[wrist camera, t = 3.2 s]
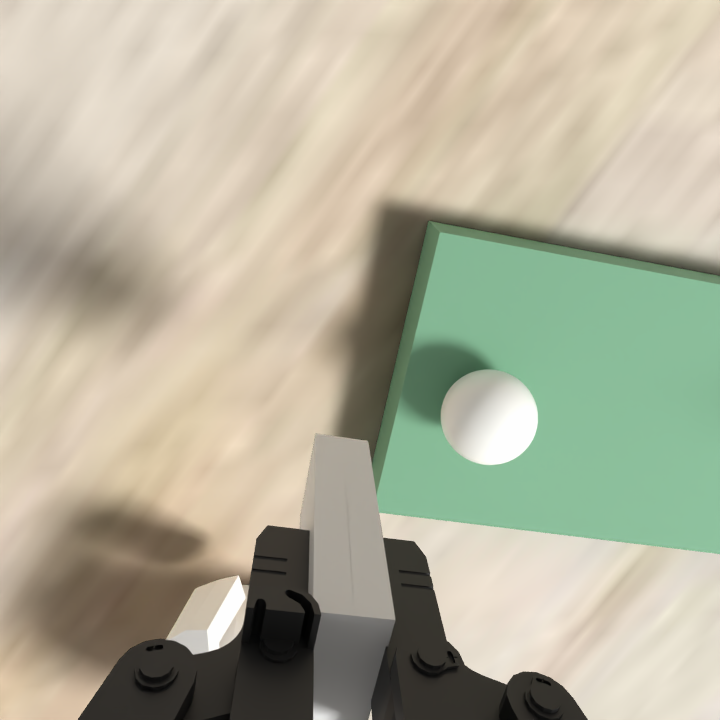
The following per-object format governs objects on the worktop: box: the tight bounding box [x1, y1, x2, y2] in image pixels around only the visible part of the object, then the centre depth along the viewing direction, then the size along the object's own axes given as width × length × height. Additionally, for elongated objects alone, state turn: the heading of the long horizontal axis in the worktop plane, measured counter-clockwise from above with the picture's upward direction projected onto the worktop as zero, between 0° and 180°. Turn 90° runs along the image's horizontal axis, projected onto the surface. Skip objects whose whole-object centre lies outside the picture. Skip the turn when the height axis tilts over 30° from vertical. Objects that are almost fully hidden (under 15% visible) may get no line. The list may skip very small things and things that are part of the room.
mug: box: [166, 575, 249, 655], centre depth 26 cm, size 12×9×10 cm
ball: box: [441, 369, 538, 465], centre depth 22 cm, size 4×4×4 cm
